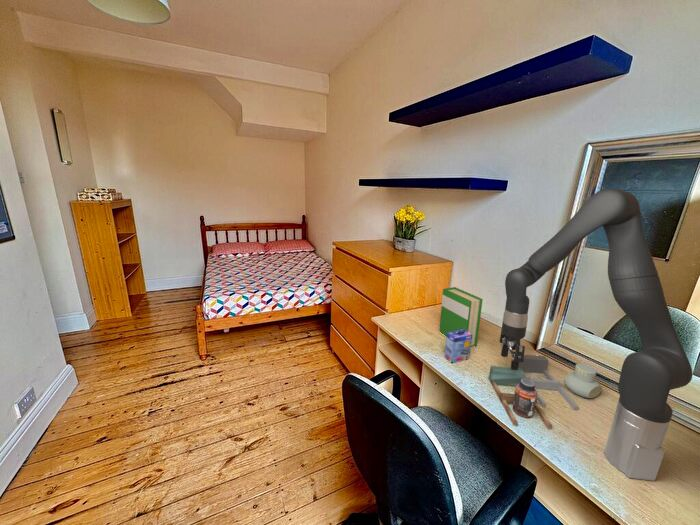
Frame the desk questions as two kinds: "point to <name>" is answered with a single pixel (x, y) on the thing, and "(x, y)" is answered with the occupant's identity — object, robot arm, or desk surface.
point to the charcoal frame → (540, 366)
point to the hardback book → (460, 312)
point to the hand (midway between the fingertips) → (508, 362)
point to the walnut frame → (511, 379)
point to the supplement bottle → (525, 398)
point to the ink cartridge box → (458, 345)
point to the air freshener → (583, 381)
